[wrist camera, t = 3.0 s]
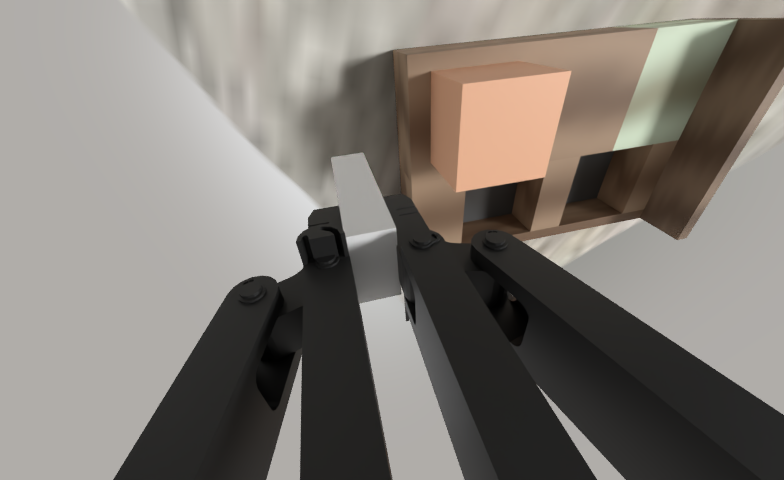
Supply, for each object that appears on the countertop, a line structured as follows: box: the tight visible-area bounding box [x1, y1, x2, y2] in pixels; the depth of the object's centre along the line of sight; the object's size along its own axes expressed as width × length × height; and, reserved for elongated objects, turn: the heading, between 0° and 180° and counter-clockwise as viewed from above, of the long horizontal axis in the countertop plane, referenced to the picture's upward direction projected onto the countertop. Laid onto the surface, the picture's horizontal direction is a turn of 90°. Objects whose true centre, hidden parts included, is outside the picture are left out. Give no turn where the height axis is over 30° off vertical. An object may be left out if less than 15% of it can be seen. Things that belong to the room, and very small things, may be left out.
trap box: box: [393, 18, 784, 243], centre depth 25 cm, size 16×25×8 cm, turn 94°
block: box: [431, 61, 572, 192], centre depth 19 cm, size 6×6×5 cm
